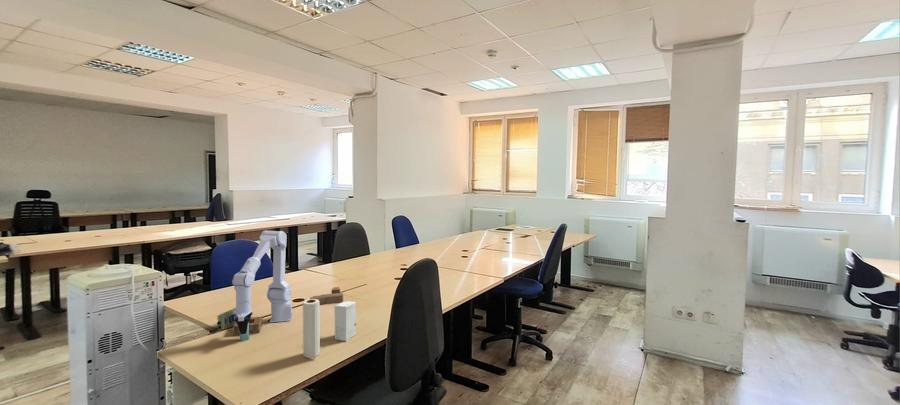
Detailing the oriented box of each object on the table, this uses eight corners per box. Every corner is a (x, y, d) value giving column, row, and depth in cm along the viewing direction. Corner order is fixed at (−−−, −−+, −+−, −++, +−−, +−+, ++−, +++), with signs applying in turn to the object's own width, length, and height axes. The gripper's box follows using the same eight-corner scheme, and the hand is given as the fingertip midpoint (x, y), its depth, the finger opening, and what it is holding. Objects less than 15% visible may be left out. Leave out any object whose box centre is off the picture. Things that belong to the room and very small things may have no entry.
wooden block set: (344, 293, 216) (310, 296, 209) (344, 303, 216) (310, 306, 209) (340, 285, 232) (308, 288, 224) (340, 294, 232) (308, 297, 225)
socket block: (262, 324, 182) (262, 316, 181) (259, 333, 172) (259, 324, 172) (238, 327, 178) (237, 318, 178) (233, 335, 169) (233, 326, 169)
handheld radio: (252, 315, 195) (213, 335, 170) (247, 315, 195) (207, 334, 171) (252, 302, 194) (212, 320, 170) (246, 302, 195) (206, 319, 170)
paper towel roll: (307, 350, 155) (306, 298, 154) (322, 351, 155) (321, 298, 154) (299, 359, 148) (299, 304, 147) (315, 359, 148) (314, 304, 147)
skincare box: (346, 341, 164) (346, 307, 164) (333, 339, 166) (333, 305, 165) (356, 334, 172) (356, 301, 172) (344, 332, 174) (344, 299, 173)
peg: (249, 337, 168) (249, 316, 167) (248, 340, 164) (247, 319, 164) (240, 338, 166) (240, 317, 166) (239, 341, 163) (238, 320, 163)
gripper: (236, 296, 170) (237, 326, 171) (229, 306, 156) (230, 339, 157) (254, 295, 172) (254, 325, 173) (248, 305, 159) (249, 337, 159)
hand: (244, 331), depth 165 cm, fingers closed on peg, 3 cm apart
